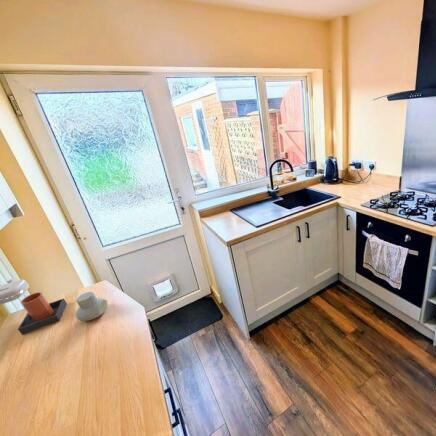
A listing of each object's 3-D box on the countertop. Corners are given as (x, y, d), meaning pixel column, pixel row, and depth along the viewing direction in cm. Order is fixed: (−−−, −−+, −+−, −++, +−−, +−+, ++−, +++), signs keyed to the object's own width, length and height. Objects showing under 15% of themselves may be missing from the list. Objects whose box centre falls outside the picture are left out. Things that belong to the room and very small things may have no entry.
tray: (21, 334, 98) (17, 329, 97) (32, 315, 108) (29, 310, 107) (59, 320, 103) (56, 315, 102) (67, 303, 113) (63, 298, 112)
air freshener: (100, 321, 100) (89, 303, 96) (77, 326, 99) (65, 308, 95) (111, 303, 110) (101, 285, 106) (91, 307, 109) (80, 290, 105)
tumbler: (33, 325, 102) (17, 305, 97) (38, 315, 107) (24, 296, 102) (52, 318, 104) (38, 299, 99) (56, 309, 109) (43, 290, 105)
